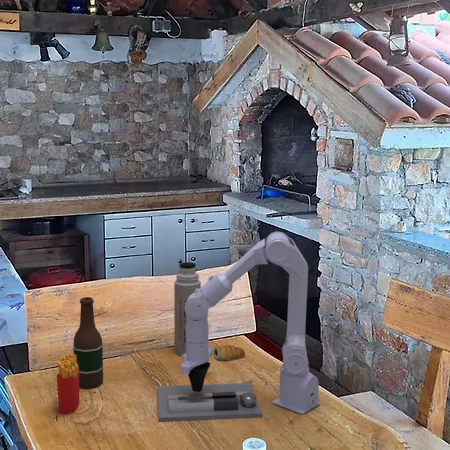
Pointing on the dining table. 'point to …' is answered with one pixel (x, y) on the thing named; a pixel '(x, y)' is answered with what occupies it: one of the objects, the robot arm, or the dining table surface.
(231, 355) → the pastry
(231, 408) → the arm
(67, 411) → the french fries
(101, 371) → the beer bottle
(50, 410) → the dining table surface
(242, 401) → the tongs moving arm
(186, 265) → the thermos bottle
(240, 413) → the slate board
